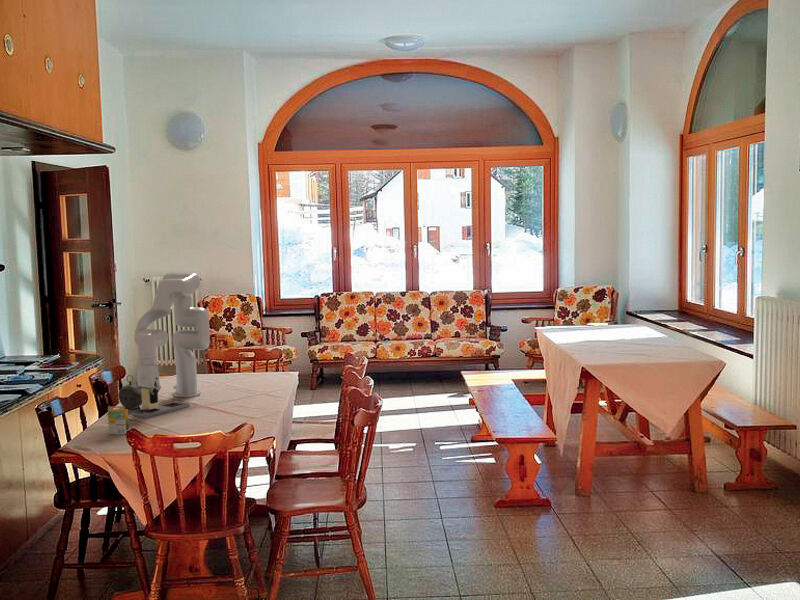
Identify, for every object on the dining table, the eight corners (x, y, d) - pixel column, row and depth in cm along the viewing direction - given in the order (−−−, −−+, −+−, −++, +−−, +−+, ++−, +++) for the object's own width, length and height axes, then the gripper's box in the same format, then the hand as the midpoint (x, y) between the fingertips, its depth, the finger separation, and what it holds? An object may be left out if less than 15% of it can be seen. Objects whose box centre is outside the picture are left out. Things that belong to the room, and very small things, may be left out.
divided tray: (132, 417, 370) (132, 411, 369) (176, 406, 389) (176, 400, 389) (145, 420, 364) (145, 414, 364) (189, 408, 383) (189, 403, 383)
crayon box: (129, 432, 345) (127, 404, 344) (126, 434, 342) (125, 406, 341) (111, 432, 346) (110, 404, 345) (108, 434, 343) (107, 406, 342)
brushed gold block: (142, 408, 372) (140, 387, 370) (151, 405, 376) (150, 385, 374) (149, 409, 369) (148, 389, 367) (159, 407, 373) (157, 387, 371)
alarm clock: (145, 410, 383) (143, 374, 381) (138, 413, 378) (136, 377, 376) (124, 408, 386) (123, 373, 384) (117, 411, 381) (115, 375, 379)
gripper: (128, 360, 371) (130, 401, 374) (153, 365, 361) (155, 406, 364) (142, 357, 377) (145, 397, 380) (167, 361, 367) (169, 402, 370)
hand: (150, 401), depth 372 cm, fingers closed on brushed gold block, 5 cm apart
